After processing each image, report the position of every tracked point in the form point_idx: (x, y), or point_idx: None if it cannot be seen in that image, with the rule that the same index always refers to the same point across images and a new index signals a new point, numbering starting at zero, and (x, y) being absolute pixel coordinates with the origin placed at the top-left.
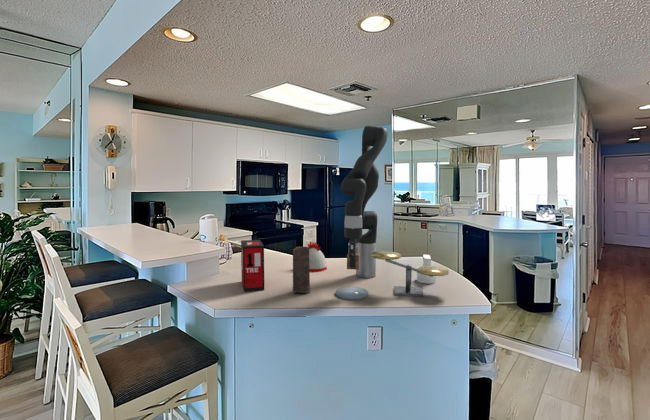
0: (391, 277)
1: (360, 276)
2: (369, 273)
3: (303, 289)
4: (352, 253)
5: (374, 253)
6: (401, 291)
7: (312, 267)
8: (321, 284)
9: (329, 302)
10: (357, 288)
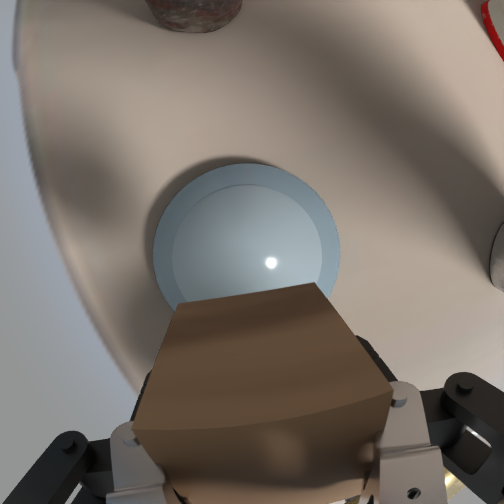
0: (486, 342)
1: (498, 234)
2: (502, 279)
3: (153, 12)
4: (322, 464)
5: None
6: None
7: (499, 27)
8: (365, 58)
9: (91, 183)
10: (312, 278)
